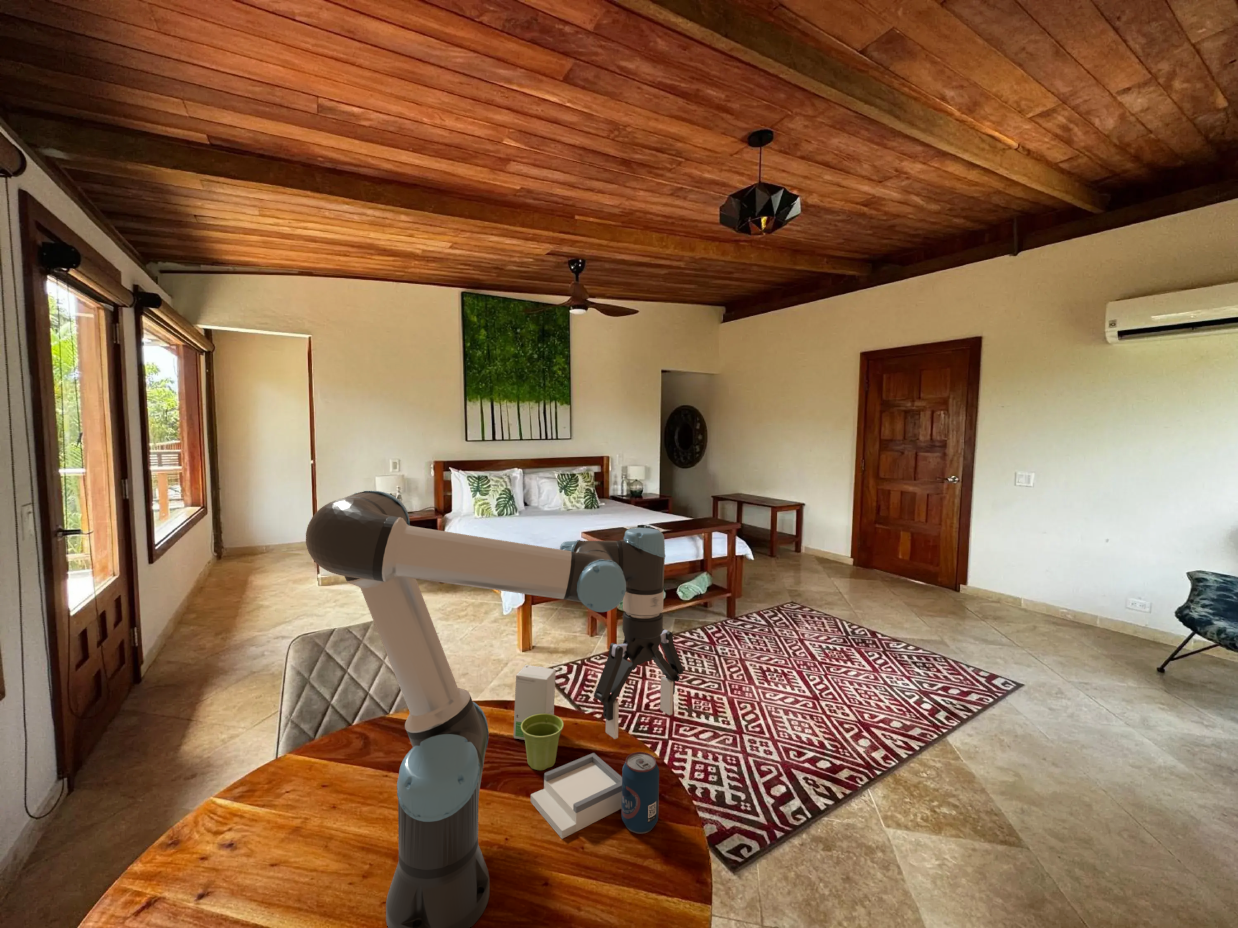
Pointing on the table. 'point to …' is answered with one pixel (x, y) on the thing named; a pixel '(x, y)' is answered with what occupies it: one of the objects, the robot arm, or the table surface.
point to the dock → (578, 794)
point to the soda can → (640, 792)
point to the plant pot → (541, 739)
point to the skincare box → (533, 695)
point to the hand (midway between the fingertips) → (640, 723)
